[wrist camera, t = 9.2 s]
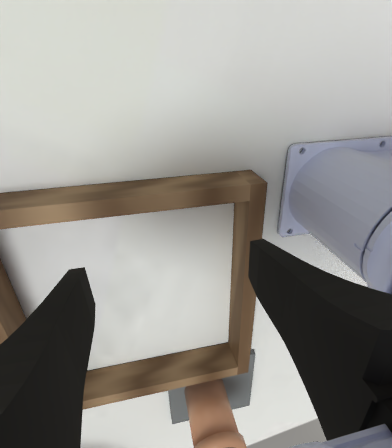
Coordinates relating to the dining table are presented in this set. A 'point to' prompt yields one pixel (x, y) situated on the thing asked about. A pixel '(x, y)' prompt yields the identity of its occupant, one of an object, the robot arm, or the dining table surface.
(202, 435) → the terracotta pot
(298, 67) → the dining table surface
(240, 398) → the mat
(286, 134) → the dining table surface
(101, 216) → the frame
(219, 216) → the dining table surface
